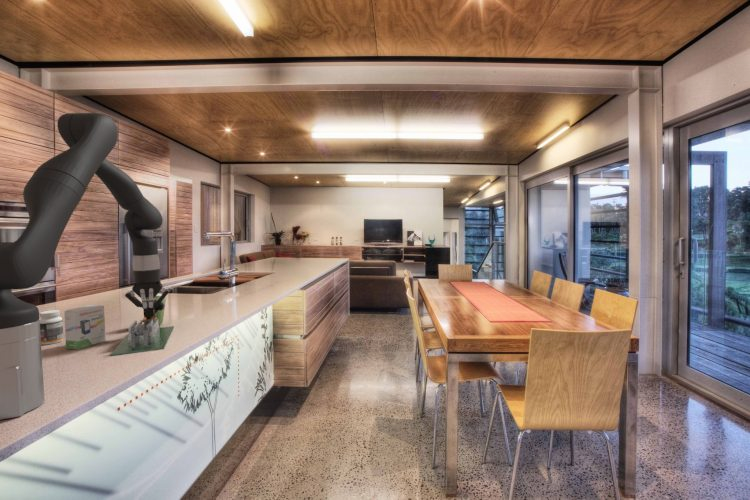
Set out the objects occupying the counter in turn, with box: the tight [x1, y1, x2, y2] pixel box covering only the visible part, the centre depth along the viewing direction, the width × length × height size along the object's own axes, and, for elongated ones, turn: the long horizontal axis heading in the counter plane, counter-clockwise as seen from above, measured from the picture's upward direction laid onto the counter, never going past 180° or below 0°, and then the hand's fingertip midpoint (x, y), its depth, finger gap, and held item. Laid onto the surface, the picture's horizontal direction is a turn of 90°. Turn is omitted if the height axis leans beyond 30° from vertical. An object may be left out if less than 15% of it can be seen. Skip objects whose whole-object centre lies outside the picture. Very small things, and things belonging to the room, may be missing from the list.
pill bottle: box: [39, 309, 64, 346], centre depth 107 cm, size 6×6×10 cm
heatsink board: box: [110, 313, 175, 357], centre depth 109 cm, size 25×13×6 cm, turn 25°
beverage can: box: [148, 292, 167, 326], centre depth 126 cm, size 6×7×12 cm
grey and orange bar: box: [135, 316, 157, 336], centre depth 109 cm, size 19×4×1 cm, turn 25°
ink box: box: [64, 304, 107, 351], centre depth 105 cm, size 9×5×12 cm, turn 168°
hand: (149, 318), depth 115 cm, fingers closed
